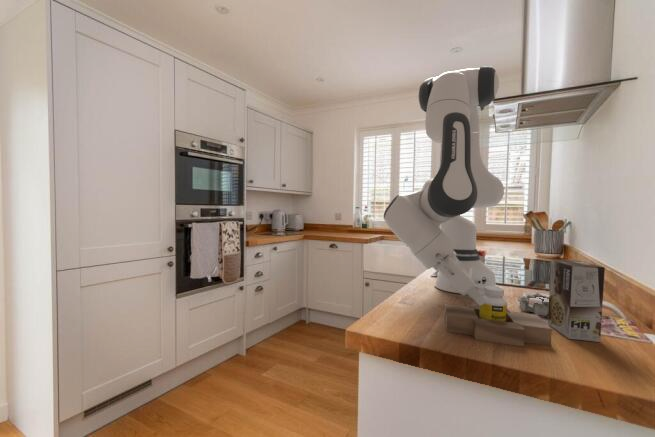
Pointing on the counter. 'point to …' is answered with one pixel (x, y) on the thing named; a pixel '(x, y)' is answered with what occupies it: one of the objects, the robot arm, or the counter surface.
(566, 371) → the counter surface
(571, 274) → the coffee box
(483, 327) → the walnut cross stand
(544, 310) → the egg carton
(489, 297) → the supplement bottle
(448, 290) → the robot arm
